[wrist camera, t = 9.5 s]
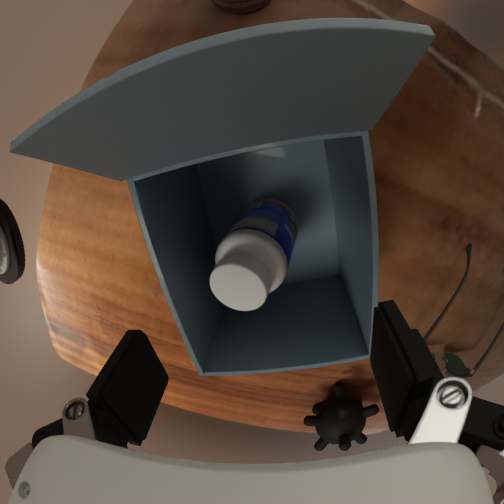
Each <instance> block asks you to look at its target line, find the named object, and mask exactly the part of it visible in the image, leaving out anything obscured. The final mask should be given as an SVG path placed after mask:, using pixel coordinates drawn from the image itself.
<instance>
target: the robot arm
mask: <svg viewBox="0 0 504 504" xmlns="http://www.w3.org/2000/svg"><path fill="white" fill-rule="evenodd" d="M9 264H10V254H9V248H8V244H7V240H6V237H5V234H4V232H3V230H2V228H1V226H0V274H3V273H5V272H6V271H7V270H8V268H9ZM370 363H371V367H372V370H373V373H374V376H375V379H376V383H377V386H378V389H379V392H380V396H381V399H382V403H383V406H384V410H385V413H386V417H387V421H388V425H389V428H390V430H391V432H393V431H395V433H396V437H400V436H404V438H405V440H406V441H408V443H407V445H401V446H395V447H391V448H386V449H381V450H376V451H371V452H367V453H361V454H356V455H350V456H344V457H338V458H330V459H322V460H313V461H304V462H292V463H291V462H290V463H269V464H268V463H267V464H240V463H219V462H206V461H195V460H187V459H180V458H173V457H167V456H161V455H154V454H150V453H145V452H140V451H136V450H132V449H128V447H127V443H128V442H129V443H130V444H133V445H138V446H141V443H142V441H143V440H145V439H146V437H147V434H148V431H149V429H150V426H151V424H152V421H153V419H154V416H155V414H156V411H157V408H158V406H159V403H160V401H161V398H162V396H163V393H164V391H165V389H166V386H167V384H168V375H167V373H166V371H165V369H164V367H163V366H162V364H161V362H160V360H159V358H158V356H157V355H156V353H155V351H154V349H153V347H152V345H151V343H150V341H149V339H148V337H147V335H146V334H145V333H143V332H142V331H141V330H128V331H127V332H126V334H125V335H124V336H123V338H122V339H121V341H120V342H119V344H118V345H117V347H116V348H115V350H114V351H113V353H112V354H111V356H110V357H109V359H108V360H107V362H106V364H105V365H104V367H103V368H102V370H101V371H100V373H99V374H98V376H97V378H96V379H95V381H94V382H93V384H92V386H91V387H90V389H89V391H88V392H87V394H86V396H87V397H88V398H89V400H88V402H87V401H86V400H85V399H83V398H75V399H73V400H71V401H69V402H68V403H67V404H66V405H65V407H64V408H63V411H62V418H61V419H59V420H57V421H55V422H53V423H50V424H49V425H46V426H44V427H42V428H40V429H38V430H37V431H36V432H35V433H34V435H33V438H32V444H31V443H30V442H29V443H28V444H27V445H26V446H24V447H23V448H22V449H21V450H19V451H18V452H17V453H15V454H14V455H13V456H12V457H11V458H9V460H8V461H7V463H6V466H5V469H6V473H7V475H8V478H9V481H10V483H11V486H12V488H13V491H12V493H11V495H10V498H9V500H8V503H7V504H504V406H502V405H499V404H496V403H492V402H489V401H486V400H483V399H479V398H476V397H473V396H472V389H471V387H470V385H469V384H468V383H467V382H466V381H465V380H464V379H461V378H459V377H447V378H445V379H444V377H443V375H442V373H441V371H440V369H439V367H438V365H437V363H436V362H435V360H434V358H433V356H432V354H431V352H430V351H429V349H428V347H427V345H426V343H425V342H424V340H423V338H422V336H421V335H420V333H419V332H418V330H417V329H412V330H411V329H410V327H409V326H408V324H407V322H406V320H405V319H404V317H403V315H402V314H401V312H400V310H399V309H398V307H397V305H396V304H395V302H394V301H393V300H389V301H384V302H379V303H378V307H374V312H373V329H372V342H371V353H370ZM482 467H485V468H487V469H488V470H489V471H490V473H489V474H490V475H491V476H492V477H493V478H494V479H495V480H496V483H497V489H496V493H495V494H494V496H493V497H492V494H491V490H490V486H489V483H488V481H487V478H486V475H485V472H484V470H483V468H482Z"/></svg>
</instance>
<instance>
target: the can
mask: <svg viewBox="0 0 504 504" xmlns="http://www.w3.org/2000/svg"><path fill="white" fill-rule="evenodd" d="M212 1H213V3H214V5H215V6H217V7H218V8H219V9H221V10H223V11H226V12H229V13H238V14H240V13H249V12H252V11H255V10H258V9H260V8H261V7H263V6H265V5H266V4H267V3H268V2H269V1H270V0H212Z"/></svg>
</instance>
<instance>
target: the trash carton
mask: <svg viewBox="0 0 504 504" xmlns="http://www.w3.org/2000/svg"><path fill="white" fill-rule="evenodd" d="M127 181H128V184H129V188H130V192H131V195H132V199H133V203H134V206H135V209H136V213H137V216H138V219H139V223H140V226H141V229H142V232H143V235H144V239H145V242H146V245H147V248H148V251H149V253H150V256H151V259H152V262H153V265H154V268H155V271H156V273H157V276H158V279H159V281H160V284H161V287H162V289H163V292H164V295H165V297H166V300H167V302H168V305H169V307H170V310H171V312H172V315H173V317H174V319H175V322H176V324H177V327H178V329H179V331H180V333H181V336H182V338H183V340H184V343H185V345H186V347H187V349H188V351H189V354H190V356H191V358H192V360H193V362H194V364H195V366H196V369H197V371H198V373H199V375H200V376H204V375H205V376H216V375H243V374H259V373H271V372H282V371H292V370H300V369H308V368H316V367H323V366H329V365H336V364H342V363H347V362H353V361H358V360H363V359H368V358H370V353H371V342H372V329H373V312H374V307H378V290H379V237H378V215H377V200H376V188H375V178H374V169H373V161H372V153H371V146H370V139H369V133H368V131H358V132H347V133H337V134H327V135H319V136H311V137H304V138H297V139H291V140H284V141H278V142H272V143H267V144H261V145H256V146H251V147H246V148H241V149H236V150H231V151H227V152H222V153H218V154H214V155H210V156H206V157H201V158H198V159H194V160H190V161H186V162H182V163H179V164H175V165H171V166H168V167H165V168H161V169H158V170H154V171H151V172H148V173H145V174H142V175H138V176H135V177H132V178H129V179H127ZM266 198H268V199H275V200H278V201H280V202H282V203H284V204H286V205H287V206H288V207H289V208H290V209H291V210H292V211H293V212H294V214H295V216H296V218H297V221H298V235H297V238H296V242H295V245H294V249H293V252H292V255H291V259H290V262H289V265H288V269H287V272H286V275H285V277H284V280H283V282H282V283H281V284H280V285H279V287H278V288H276V289H275V290H274V291H272V292H270V293H269V294H268V296H267V298H266V300H265V302H264V303H263V304H262V305H261V306H260V307H259V308H257V309H255V310H251V311H239V310H235V309H232V308H230V307H228V306H226V305H224V304H223V303H222V302H220V301H219V300H218V299H217V298H216V297H215V295H214V294H213V292H212V290H211V287H210V276H211V273H212V271H213V270H214V268H215V266H216V263H215V256H216V251H217V248H218V246H219V244H220V243H221V242H222V240H223V239H224V237H225V236H226V235H227V233H228V232H229V231H230V229H231V228H232V227H233V226H234V224H235V223H236V222H237V220H238V219H239V218H240V216H241V215H242V214H243V212H244V211H245V210H246V208H247V207H248V206H249V205H250V204H251V203H253V202H255V201H257V200H260V199H266Z"/></svg>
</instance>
